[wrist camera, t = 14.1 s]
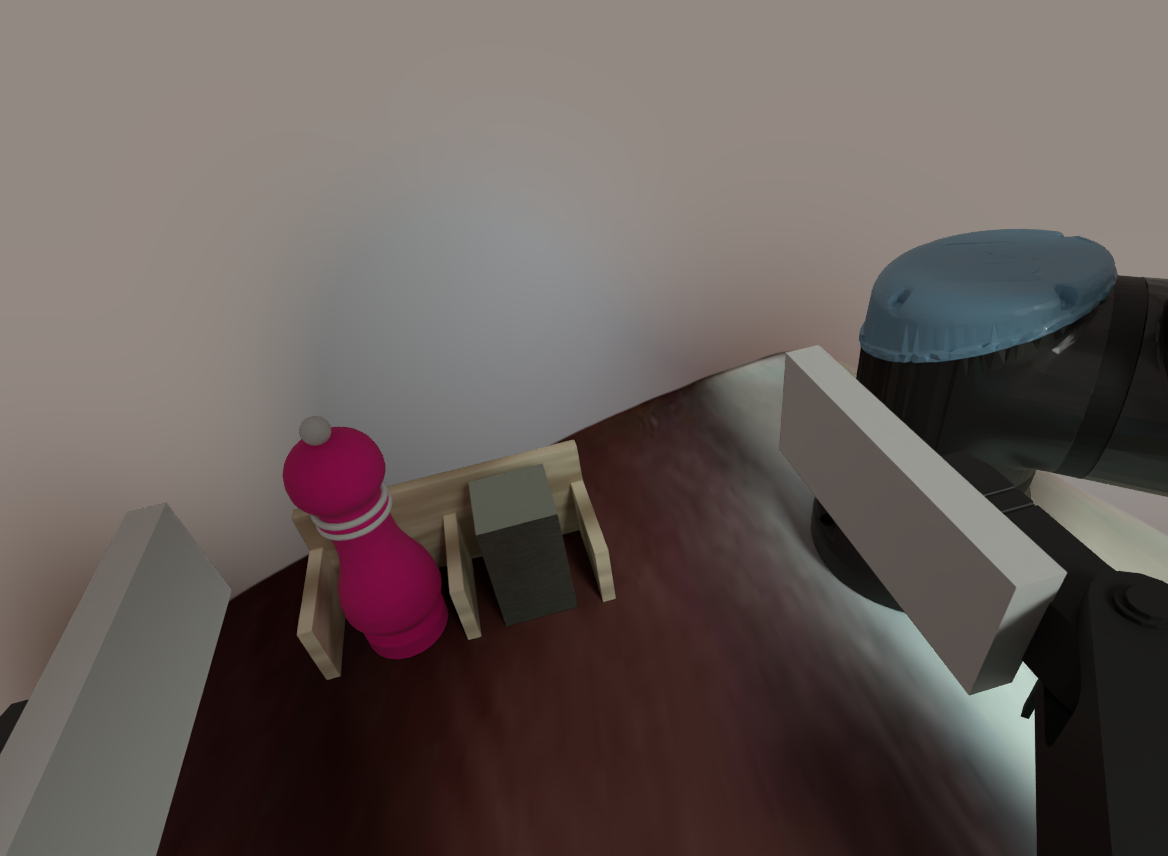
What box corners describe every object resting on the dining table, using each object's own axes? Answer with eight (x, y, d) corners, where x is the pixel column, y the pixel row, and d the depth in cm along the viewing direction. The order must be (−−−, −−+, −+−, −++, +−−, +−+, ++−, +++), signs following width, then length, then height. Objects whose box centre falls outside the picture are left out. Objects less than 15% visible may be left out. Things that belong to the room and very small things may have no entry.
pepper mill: (445, 664, 46) (348, 453, 34) (350, 669, 47) (222, 464, 35) (462, 584, 52) (385, 379, 40) (377, 589, 53) (276, 390, 41)
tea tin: (577, 606, 49) (557, 513, 43) (506, 626, 48) (475, 535, 42) (562, 553, 53) (542, 463, 47) (497, 571, 52) (468, 482, 46)
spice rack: (615, 598, 49) (602, 515, 43) (326, 680, 46) (275, 602, 41) (587, 519, 56) (573, 439, 50) (336, 586, 53) (293, 510, 48)
